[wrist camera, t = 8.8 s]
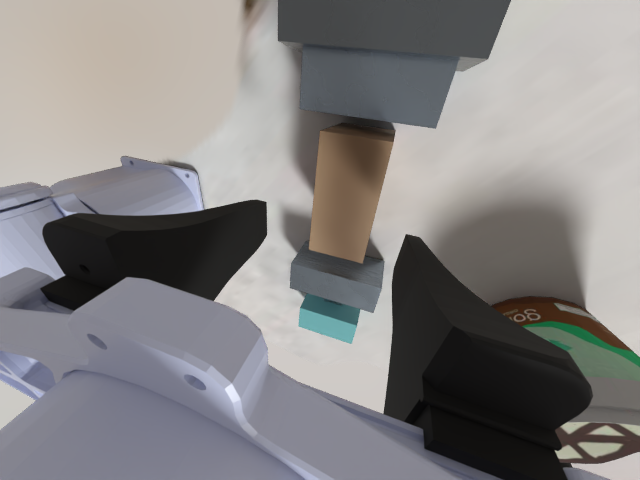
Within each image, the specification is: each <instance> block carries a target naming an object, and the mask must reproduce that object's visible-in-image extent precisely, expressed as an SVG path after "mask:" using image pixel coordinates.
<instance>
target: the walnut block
mask: <svg viewBox="0 0 640 480" xmlns="http://www.w3.org/2000/svg"><path fill="white" fill-rule="evenodd" d="M394 137H395V130H388V129H381V128H375V127H368V126H361V125H354V124H347V123H340V124H337V125H335V126H332V127H329V128H326V129H323V130H321V131H320V135H319V146H318V157H317V167H316V178H315V188H314V199H313V210H312V220H311V231H310V241H309V250H312V251H316V252H320V253H324V254H328V255H332V256H335V257H339V258H343V259H347V260H351V261H355V262H358V263H362V264H363V260H364V256H365V252H366V248H367V244H368V240H369V236H370V232H371V229H372V225H373V221H374V217H375V213H376V209H377V205H378V201H379V197H380V193H381V189H382V185H383V182H384V178H385V174H386V170H387V166H388V162H389V158H390V154H391V150H392V146H393V142H394Z"/></svg>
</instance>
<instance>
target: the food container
mask: <svg viewBox="0 0 640 480" xmlns="http://www.w3.org/2000/svg"><path fill="white" fill-rule="evenodd" d="M491 307H493V308H494V309H495V310H497V311H498V312H500V313H501V314H503V315H504V316H506V317H508V318H509V319H511V320H512V321H514V322H516V323H517V324H519V325H521V326H522V327H524V328H525V329H527V330H529V331H531V332H532V333H534V334H536V335H538V336H540V337H542V338H543V339H545V340H547V341H549V342H551V343H553V344H555V345H556V346H558V347H560V348H562V349H564V350H566V351H567V352H569V354H570V355H571V357H572V358H573V360H574V361H575V363H576V364H577V366H578V367H579V369H580V370H581V372H582V373H583V375H584V376H585V378H586V379H587V381H588V382H589V384H590V385H591V388H592V392H593V398H592V400H591V403H590V405H589V406H588V408H586V409H585V410H584V411H583V412H582V413H581V414H580V415H578V416H576V417H575V418H573V419H572V420H570V421H568V422H567V423H565V424H564V425H562V426H560V427H559V428H557V429H556V430H555V432H556V434H557V436H558V438H559V440H560V442H561V444H562V449H561V450H559V451H556V450H555V452H556V454H557V457H558V459H559V461H560V462H562V463H582V464H598V463H605V462H609V461H612V460H616V459H619V458H622V457H625V456H628V455H631V454H633V453H636V452H640V357H639V356H638V355H636V354H635V353H634V352H633V351H632V350H631V349H630V348H629V347H627V346H626V345H625V344H624V343H623V342H622V341H621V340H620V339H618V338H617V337H616V336H615V335H614V334H613V333H612V332H611V331H609V330H608V329H607V328H606V327H605V326H604V325H603V324H601V323H600V322H599V321H598V320H597V319H596V318H595V317H594V316H592V315H591V314H590V313H589V312H588V311H587V310H586V309H584V308H582V307H580V306H578V305H576V304H574V303H571V302H568V301H564V300H560V299H556V298H552V297H534V296H528V297H521V298H514V299H508V300H505V301H502V302H499V303H496V304H494V305H492V306H491Z"/></svg>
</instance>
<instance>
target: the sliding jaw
mask: <svg viewBox="0 0 640 480" xmlns="http://www.w3.org/2000/svg"><path fill="white" fill-rule="evenodd" d="M383 271H384V261H382V260H378V259H375V258H371V257H367V256H364V260H363V264H362V263H358V262H355V261H351V260H347V259H343V258H339V257H335V256H332V255H328V254H324V253H320V252H316V251H312V250H309V242H308V241H306V242H305V244H304V245H303V247H302V248H301V250H300V251H299V253H298V254H297V255H296V257H295V258H294V260H293V261H292V263H291V277H290V288H292V289H295V290H298V291H302V292H305V293H307V295H306V297H305V299H304V301H303V303H302V305H301V307H300V315H299V327H302V328H305V329H308V330H311V331H314V332H317V333H320V334H323V335H326V336H329V337H332V338H335V339H338V340H341V341H344V342H347V343H350V344H352V341H353V337H354V334H355V331H356V327H357V323H358V318H359V313H360V309H362V310H365V311H368V312H372V313H374V310H375V307H376V304H377V301H378V298H379V295H380V292H381V289H382V280H383Z"/></svg>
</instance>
